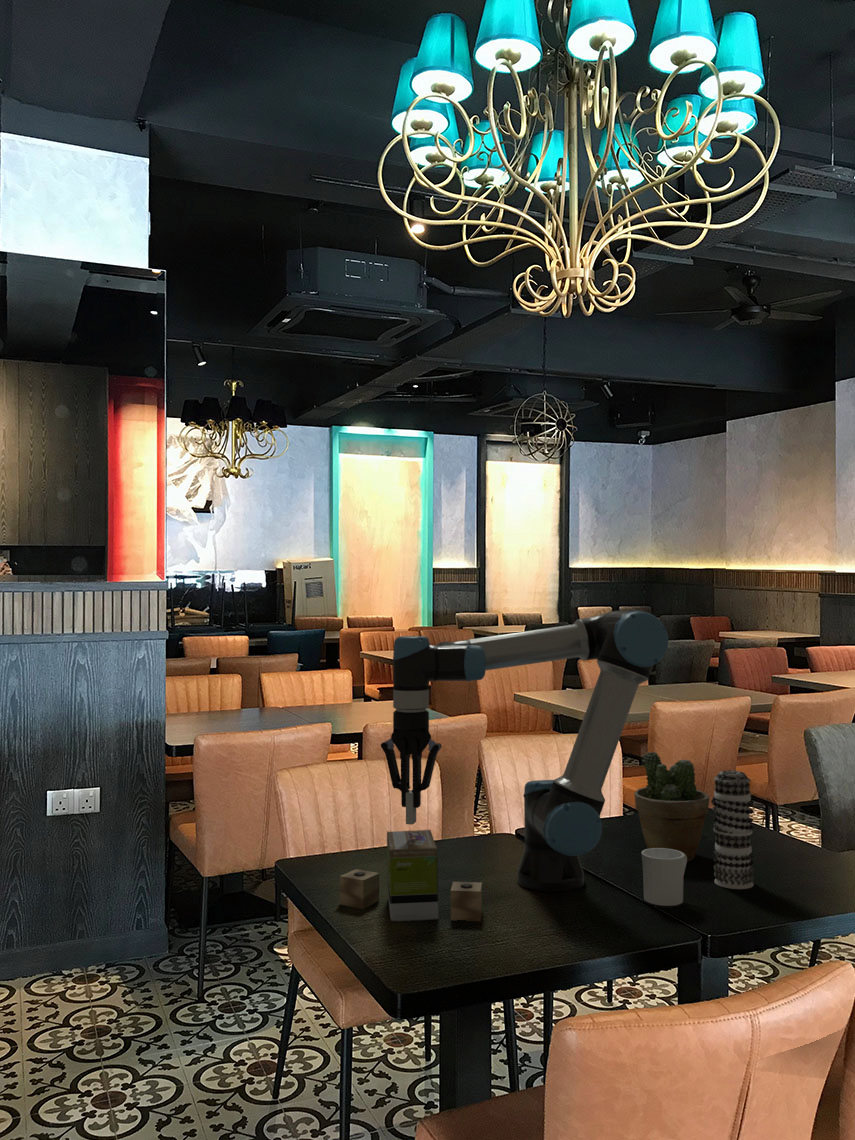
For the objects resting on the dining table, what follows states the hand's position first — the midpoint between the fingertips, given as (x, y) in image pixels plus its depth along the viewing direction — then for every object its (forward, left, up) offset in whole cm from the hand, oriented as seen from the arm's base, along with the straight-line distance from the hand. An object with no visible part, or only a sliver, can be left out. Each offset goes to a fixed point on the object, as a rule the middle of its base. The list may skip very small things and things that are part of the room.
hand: (411, 822), depth 196 cm
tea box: (0, 0, -18) cm, 18 cm away
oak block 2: (-12, +1, -18) cm, 22 cm away
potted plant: (-51, -56, -18) cm, 78 cm away
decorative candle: (-65, -36, -18) cm, 77 cm away
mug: (-51, -19, -18) cm, 57 cm away
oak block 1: (+12, -1, -18) cm, 22 cm away
